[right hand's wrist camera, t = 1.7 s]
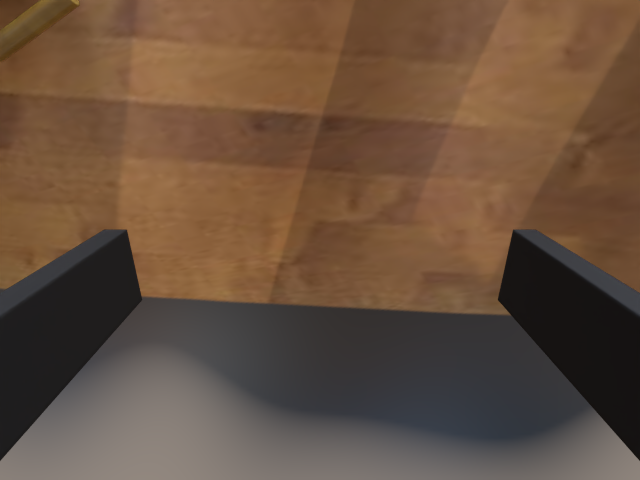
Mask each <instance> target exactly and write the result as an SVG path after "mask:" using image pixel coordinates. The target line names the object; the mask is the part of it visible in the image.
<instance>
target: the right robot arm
mask: <svg viewBox="0 0 640 480" xmlns="http://www.w3.org/2000/svg"><path fill="white" fill-rule="evenodd" d="M141 300H142V297H141V292H140V288H139V283H138V279H137V274H136V270H135V265H134V260H133V256H132V251H131V247H130V242H129V238H128V233H127V230H103V231H101V232H100V233H98V234H96V235H95V236H93V237H91V238H90V239H88V240H87V241H85V242H83V243H82V244H80V245H78V246H77V247H75V248H73V249H72V250H70V251H69V252H67V253H65V254H64V255H62V256H60V257H59V258H57V259H55V260H54V261H52V262H50V263H49V264H47V265H46V266H44V267H42V268H41V269H39V270H37V271H36V272H34V273H32V274H31V275H29V276H28V277H26V278H24V279H23V280H21V281H19V282H18V283H16V284H14V285H13V286H11V287H9V288H8V289H6V290H5V291H3V292H1V293H0V460H1V459H2V458H3V457H4V456H5V455H6V454H7V452H8V451H9V450H10V449H11V448H12V447H13V446H14V445H15V443H16V442H17V441H18V440H19V439H20V438H21V437H22V436H23V434H24V433H25V432H26V431H27V430H28V429H29V428H30V426H31V425H32V424H33V423H34V422H35V421H36V420H37V418H38V417H39V416H40V415H41V414H42V413H43V412H44V411H45V409H46V408H47V407H48V406H49V405H50V404H51V403H52V401H53V400H54V399H55V398H56V397H57V396H58V395H59V394H60V392H61V391H62V390H63V389H64V388H65V387H66V386H67V384H68V383H69V382H70V381H71V380H72V379H73V378H74V376H75V375H76V374H77V373H78V372H79V371H80V370H81V369H82V367H83V366H84V365H85V364H86V363H87V362H88V361H89V360H90V358H91V357H92V356H93V355H94V354H95V353H96V352H97V350H98V349H99V348H100V347H101V346H102V345H103V344H104V342H105V341H106V340H107V339H108V338H109V337H110V336H111V334H112V333H113V332H114V331H115V330H116V329H117V328H118V327H119V325H120V324H121V323H122V322H123V321H124V320H125V319H126V318H127V316H128V315H129V314H130V313H131V312H132V311H133V310H134V308H135V307H136V306H137V305H138V304H139V303H140V302H141ZM498 301H499V302H500V303H501V304H502V305H503V306H504V307H505V308H506V310H507V311H508V312H509V313H510V314H511V315H512V316H513V317H514V319H515V320H516V321H517V322H518V323H519V324H520V325H521V327H522V328H523V329H524V330H525V331H526V332H527V333H528V335H529V336H530V337H531V338H532V339H533V340H534V341H535V343H536V344H537V345H538V346H539V347H540V348H541V349H542V350H543V352H544V353H545V354H546V355H547V356H548V357H549V358H550V359H551V361H552V362H553V363H554V364H555V365H556V366H557V367H558V369H559V370H560V371H561V372H562V373H563V374H564V375H565V377H566V378H567V379H568V380H569V381H570V382H571V383H572V384H573V386H574V387H575V388H576V389H577V390H578V391H579V392H580V394H581V395H582V396H583V397H584V398H585V399H586V400H587V401H588V403H589V404H590V405H591V406H592V407H593V408H594V409H595V410H596V412H597V413H598V414H599V415H600V416H601V417H602V418H603V420H604V421H605V422H606V423H607V424H608V425H609V426H610V428H611V429H612V430H613V431H614V432H615V433H616V434H617V435H618V437H619V438H620V439H621V440H622V441H623V442H624V443H625V445H626V446H627V447H628V448H629V449H630V450H631V451H632V452H633V454H634V455H635V456H636V457H637V458H638V459H639V460H640V293H639V292H637V291H635V290H634V289H632V288H631V287H629V286H627V285H626V284H624V283H622V282H621V281H619V280H617V279H616V278H614V277H612V276H611V275H609V274H608V273H606V272H604V271H603V270H601V269H599V268H598V267H596V266H594V265H593V264H591V263H590V262H588V261H586V260H585V259H583V258H581V257H580V256H578V255H576V254H575V253H573V252H571V251H570V250H568V249H567V248H565V247H563V246H562V245H560V244H558V243H557V242H555V241H553V240H552V239H550V238H549V237H547V236H545V235H544V234H542V233H540V232H539V231H537V230H513V233H512V238H511V242H510V247H509V251H508V256H507V260H506V265H505V270H504V274H503V279H502V283H501V288H500V292H499V297H498Z"/></svg>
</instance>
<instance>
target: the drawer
mask: <svg viewBox="0 0 640 480" xmlns="http://www.w3.org/2000/svg"><path fill="white" fill-rule="evenodd" d="M79 5H80V3H79V0H40V1H38V2H37V3H36V4H34V5H33V6H32V7H30V8H29V9H28V10H26V11H25V12H24V13H22V14H21V15H20V16H19V17H17V18H16V19H15V20H13V21H12V22H11V23H9V24H8V25H7V26H5V27H4V28H3V29H1V30H0V61H1V62H2V61H5V60H6V59H7V58H9V57H10V56H11V55H13V54H14V53H15V52H17V51H18V50H19V49H21V48H22V47H24V46H25V45H26V44H28V43H29V42H30V41H32V40H33V39H34V38H36V37H37V36H39V35H40V34H41V33H43V32H44V31H45V30H47V29H48V28H49V27H51V26H52V25H53V24H55V23H56V22H58V21H59V20H60V19H62V18H63V17H64V16H66V15H67V14H68V13H70V12H71V11H73V10H74V9H75V8H77V7H78V6H79Z"/></svg>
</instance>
